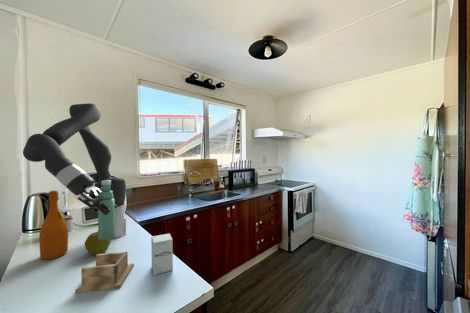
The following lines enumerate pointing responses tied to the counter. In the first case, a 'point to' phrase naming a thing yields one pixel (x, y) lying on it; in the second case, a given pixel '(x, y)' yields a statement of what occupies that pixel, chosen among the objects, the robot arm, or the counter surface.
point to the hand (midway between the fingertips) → (111, 210)
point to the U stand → (105, 272)
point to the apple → (96, 244)
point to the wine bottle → (53, 231)
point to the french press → (68, 217)
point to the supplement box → (162, 253)
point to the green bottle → (108, 221)
